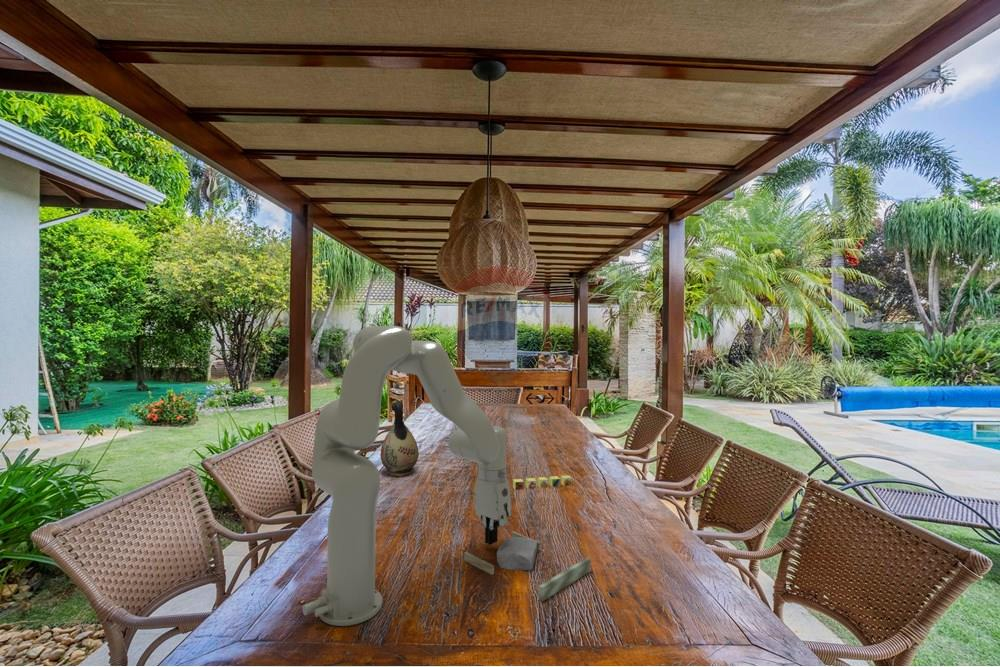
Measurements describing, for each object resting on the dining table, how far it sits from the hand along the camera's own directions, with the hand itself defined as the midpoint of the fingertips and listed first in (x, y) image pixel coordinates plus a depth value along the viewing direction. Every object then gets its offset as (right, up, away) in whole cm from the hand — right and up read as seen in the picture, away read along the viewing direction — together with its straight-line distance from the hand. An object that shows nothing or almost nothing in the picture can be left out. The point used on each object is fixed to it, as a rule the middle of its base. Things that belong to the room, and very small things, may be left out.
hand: (491, 542), depth 124 cm
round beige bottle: (-39, -2, +67) cm, 77 cm away
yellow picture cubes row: (+20, -3, +51) cm, 55 cm away
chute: (+8, -2, -8) cm, 12 cm away
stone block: (+7, -3, -5) cm, 8 cm away
